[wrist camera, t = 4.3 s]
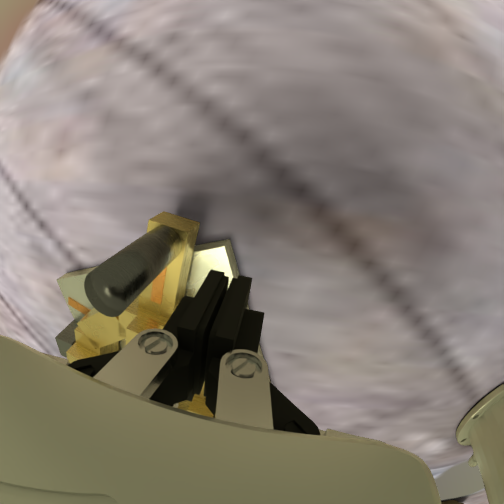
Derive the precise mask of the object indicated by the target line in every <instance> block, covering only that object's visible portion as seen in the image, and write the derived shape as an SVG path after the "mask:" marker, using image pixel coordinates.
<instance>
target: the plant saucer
mask: <svg viewBox="0 0 504 504" xmlns="http://www.w3.org/2000/svg"><path fill="white" fill-rule="evenodd" d="M441 504H464V503H459V502H458V501H456V500H449V501H444V502H441Z"/></svg>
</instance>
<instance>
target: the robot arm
mask: <svg viewBox="0 0 504 504" xmlns="http://www.w3.org/2000/svg"><path fill="white" fill-rule="evenodd" d="M228 282H229V277H228V276H225V273H224V272H221V271H216V270H210V272H209V273H208V275H207V277H206V278H205V280H204V282H203V283H202V285H201V287H200V288H199V290H198V292H197V293H196V295H195V297H190V296H184V297H183V298H182V300H181V301H180V303H179V304H178V306H177V307H176V309H175V310H174V312H173V313H172V315H171V316H170V318H169V320H168V321H167V323H166V324H165V326H164V327H163V329H155V328H153V329H147V330H144V331H141V332H140V333H138V334H137V335H136V336H135V337H134V338H133V339H132V340H131V341H130V342H129V343H128V344H127V345H126V346H125V347H124V348H123V349H122V350H121V351H116V352H112V353H107V354H103V355H98V356H94V357H89V358H84V359H79V360H76V361H73V362H72V363H70V362H69V360H68V359H64V358H60V357H56V356H52V355H49V354H45V353H41V352H39V351H37V350H35V349H33V348H31V347H29V346H27V345H25V344H23V343H21V342H19V341H16V340H14V339H12V338H9V337H6V336H3V335H0V504H441V499H440V496H439V492H438V489H437V486H436V483H435V480H434V478H433V475H432V473H431V471H430V469H429V468H428V466H427V465H426V463H425V462H424V461H423V460H422V459H421V458H419V457H418V456H417V455H415V454H413V453H411V452H409V451H407V450H404V449H401V448H398V447H395V446H392V445H389V444H386V443H385V442H382V441H379V440H374V439H369V438H365V437H360V436H356V435H352V434H347V433H343V432H339V431H335V430H332V429H327V430H326V431H323V430H319V429H318V427H317V426H316V424H315V423H314V422H313V421H312V420H311V419H309V418H308V417H307V416H306V415H305V414H304V413H303V412H302V411H301V410H299V409H298V408H297V407H296V406H295V405H294V404H293V403H292V402H291V401H290V400H288V399H287V398H286V397H285V396H284V395H283V394H282V393H281V392H280V391H279V390H278V389H277V388H276V387H275V386H274V385H273V384H272V383H270V382H269V374H268V366H267V363H266V361H265V360H264V358H263V357H261V356H260V355H259V354H257V353H258V348H259V342H260V336H261V330H262V324H263V318H264V312H259V311H254V310H249V309H247V304H248V298H249V293H250V287H251V282H252V278H250V277H245V276H240V275H239V276H238V278H232V280H231V283H230V285H229V288H228ZM227 289H228V290H227ZM204 381H205V383H204ZM203 384H204V396H205V397H206V401H205V405H206V406H207V407H208V409H209V410H210V411H211V412H212V414H213V418H212V417H208V416H204V415H200V414H196V413H192V412H189V411H185V410H182V409H178V403H179V402H182V401H185V400H188V401H191V402H192V399H193V397H194V394H197V395H200V393H201V390H202V387H203ZM456 438H457V441H458V443H459V444H461V445H471V446H472V448H473V455H472V456H471V458H470V459H469V461H468V464H469V466H470V467H474V466H476V465H478V466H479V469H480V472H481V476H482V479H483V483H484V486H485V490H486V494H487V497H488V501H489V504H504V384H502V385H501V386H499V387H498V388H496V389H495V390H494V391H492V392H491V393H490V394H488V395H487V396H486V397H485V398H484V399H482V400H481V401H480V402H479V403H478V404H477V405H476V406H475V407H474V408H473V409H472V410H471V411H470V412H469V413H468V414H467V415H466V416H465V418H464V419H463V420H462V422H461V423H460V425H459V427H458V428H457V431H456Z"/></svg>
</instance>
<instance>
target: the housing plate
mask: <svg viewBox="0 0 504 504" xmlns="http://www.w3.org/2000/svg"><path fill="white" fill-rule="evenodd" d="M96 267H98V266H96ZM96 267H91V268H87V269H82V270H78V271H73V272H69V273H66V274H64V275H63V276H62V277H60V278H59V279H57V282H58V285H59V287H60V289H61V291H62V294H63V296H64V298H65V300H66V302H67V305H68V307H69V309H70V311H71V313H72V315H73V317H74V320H73V321H72V322H71V323H70V324H69V325H68V326H67V327H66V328H65V329H64V330H63V331H62V332H61V333H59V334H58V335H57V336H56V337H55V339H56V342H57V345H58V347H59V350H60V353H61V355H62V356H64V357H67V354H66V352H67V351H68V350H69V349H70V347H71V346H72V345H73V344H74V343H75V342H76V339H75V331H74V330H75V329H76V328H77V327H78V325H77V323H78V322H79V321H80V320H81V319H82V318H83V317H84V316H85V315H86V314H87V313H88V312H89V311H91V310H92V309H93V308H94V307H93V306H92V304H91V303H90V302H89V300H88V298H87V296H86V293H85V289H84V281H85V278H86V276H87V274H88V273H90V272H91V271H92V270H94V269H95V268H96ZM210 270H216V271H221V272H224V273H225V276H228V277H229V282H228V288H229V285H230V283H231V280H232V278H238V276H239V275H240V274H239V270H238V267H237V263H236V260H235V256H234V252H233V249H232V245H231V242H230V239H226V240H221V241H216V242H211V243H206V244H201V245H196V246H195V247H194V251H193V256H192V261H191V265H190V270H189V275H188V280H187V285H186V290H185V295H184V296H190V297H195V295H196V293H197V292H198V290H199V288H200V287H201V285H202V283H203V282H204V280H205V278H206V277H207V275H208V273H209V272H210ZM227 290H228V289H227ZM247 309H249V306H248V304H247ZM249 310H250V309H249ZM125 346H126V339H123V340H120V341H119V351H121V350H122V349H123V348H124V347H125ZM257 354H259V355H260V356H261V357H263V354H262V351H261V347H260V344H259V348H258V353H257ZM263 358H264V357H263ZM269 382H270V383H271V381H270V377H269Z"/></svg>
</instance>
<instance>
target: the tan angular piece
mask: <svg viewBox="0 0 504 504" xmlns="http://www.w3.org/2000/svg"><path fill="white" fill-rule="evenodd" d="M199 225H200V223H199V222H196V221H193V220H190V219H187V218H183V217H180V216H177V215H174V214H171V213H168V212H162V213H160V214H158V215H156V216H155V217H153V218H151V219H149V222H148V228H147V233H146V234H145V235H143V236H142V237H140V238H139V239H137V240H136V241H134V242H133V243H131V244H130V245H128V246H127V247H125V248H124V249H122V250H121V251H119V252H118V253H116V254H115V255H114V256H112V257H111V258H109V259H108V260H106V261H105V262H104V263H102V264H101V265H99V266H98V267H96V268H95V269H94V270H92V271H91V272H90V273H88V274H87V276H86V278H85V281H84V289H85V293H86V296H87V298H88V300H89V302H90V303H91V304H92V306H93V307H94V308H93V309H92V310H91V311H89V312H88V313H87V314H86V315H85V316H84V317H83V318H82V319H81V320H80V321H79V322H78V323H77V325H78V327H77V328H76V329H75V330H74V331H75V339H76V342H75V343H74V344H73V345H72V346H71V347H70V349H69V350H68V351H67V352H66V354H67V359H68V360H69V362H70V363H72V362H73V361H76V360H79V359H84V358H89V357H94V356H98V355H103V354H107V353H112V352H116V351H119V341H120V340H123V339H126V345H127V344H128V343H129V342H130V341H131V340H132V339H133V338H134V337H135V336H136V335H137V334H138V333H140V332H141V331H144V330H147V329H153V328H155V329H163V327H164V326H165V324H166V323H167V321H168V320H169V318H170V316H171V315H172V313H173V312H174V310H175V309H176V307H177V306H178V304H179V303H180V301H181V300H182V298H183V297H184V295H185V290H186V285H187V280H188V275H189V270H190V265H191V261H192V256H193V251H194V247H195V242H196V238H197V234H198V229H199ZM204 383H205V381H204ZM205 401H206V397H205V396H204V384H203V387H202V390H201V393H200V395H197V394H194V397H193V399H192V402H191V401H188V400H185V401H182V402H179V403H178V409H182V410H185V411H189V412H192V413H196V414H200V415H204V416H208V417H212V418H213V414H212V412H211V411H210V410H209V409H208V407H207V406H206V405H205Z"/></svg>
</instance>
